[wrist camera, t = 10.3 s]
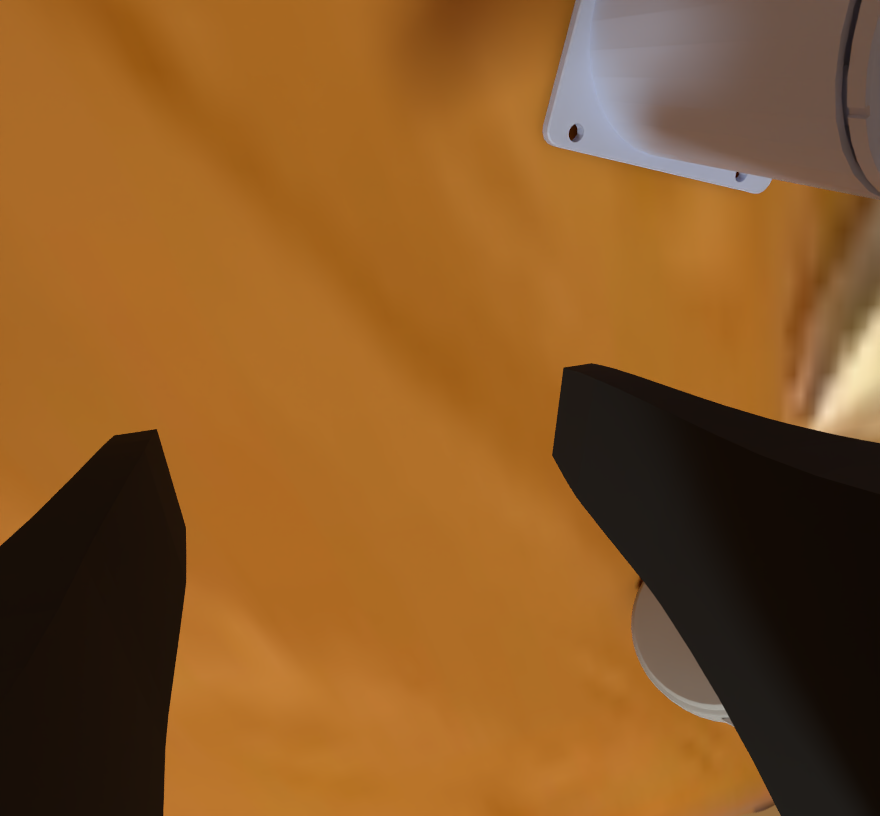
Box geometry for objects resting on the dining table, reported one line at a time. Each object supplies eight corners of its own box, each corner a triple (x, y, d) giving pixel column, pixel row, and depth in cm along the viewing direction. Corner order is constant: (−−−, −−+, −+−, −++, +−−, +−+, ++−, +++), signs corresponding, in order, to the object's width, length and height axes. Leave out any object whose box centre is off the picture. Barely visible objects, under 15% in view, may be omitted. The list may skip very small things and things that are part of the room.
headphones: (596, 610, 32) (957, 1135, 16) (706, 506, 30) (1225, 975, 15) (738, 684, 43) (1036, 1041, 27) (824, 611, 41) (1194, 944, 26)
